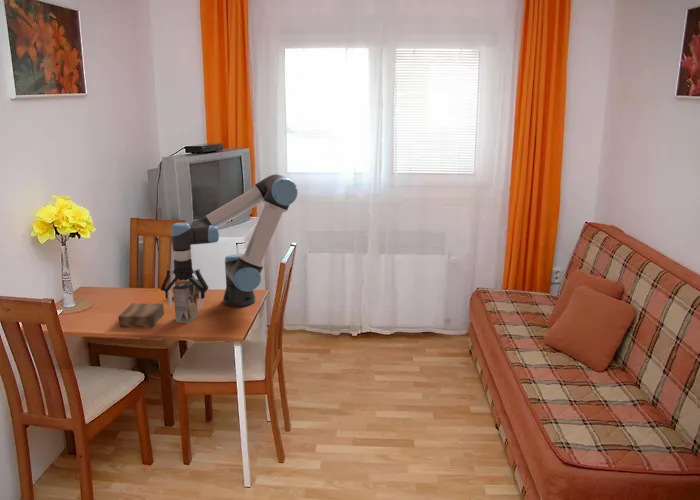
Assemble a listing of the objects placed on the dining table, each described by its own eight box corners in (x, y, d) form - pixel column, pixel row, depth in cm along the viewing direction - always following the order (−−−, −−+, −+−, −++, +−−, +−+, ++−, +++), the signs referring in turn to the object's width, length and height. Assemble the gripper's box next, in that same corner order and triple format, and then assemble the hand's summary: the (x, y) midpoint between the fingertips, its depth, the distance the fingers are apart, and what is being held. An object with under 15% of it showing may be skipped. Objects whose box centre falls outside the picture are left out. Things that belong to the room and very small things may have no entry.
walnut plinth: (164, 313, 266) (163, 303, 265) (152, 327, 251) (151, 316, 250) (133, 313, 266) (132, 303, 265) (119, 327, 251) (118, 316, 250)
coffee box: (185, 314, 266) (182, 280, 261) (198, 315, 264) (195, 281, 260) (175, 322, 257) (172, 287, 253) (188, 323, 256) (186, 288, 252)
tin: (175, 297, 288) (174, 281, 286) (176, 295, 291) (175, 279, 289) (207, 296, 291) (206, 279, 288) (207, 293, 294) (206, 277, 291)
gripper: (213, 256, 257) (216, 302, 263) (156, 256, 257) (160, 302, 263) (209, 261, 250) (212, 308, 255) (150, 261, 250) (154, 308, 255)
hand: (185, 305), depth 259 cm, fingers open, 13 cm apart
